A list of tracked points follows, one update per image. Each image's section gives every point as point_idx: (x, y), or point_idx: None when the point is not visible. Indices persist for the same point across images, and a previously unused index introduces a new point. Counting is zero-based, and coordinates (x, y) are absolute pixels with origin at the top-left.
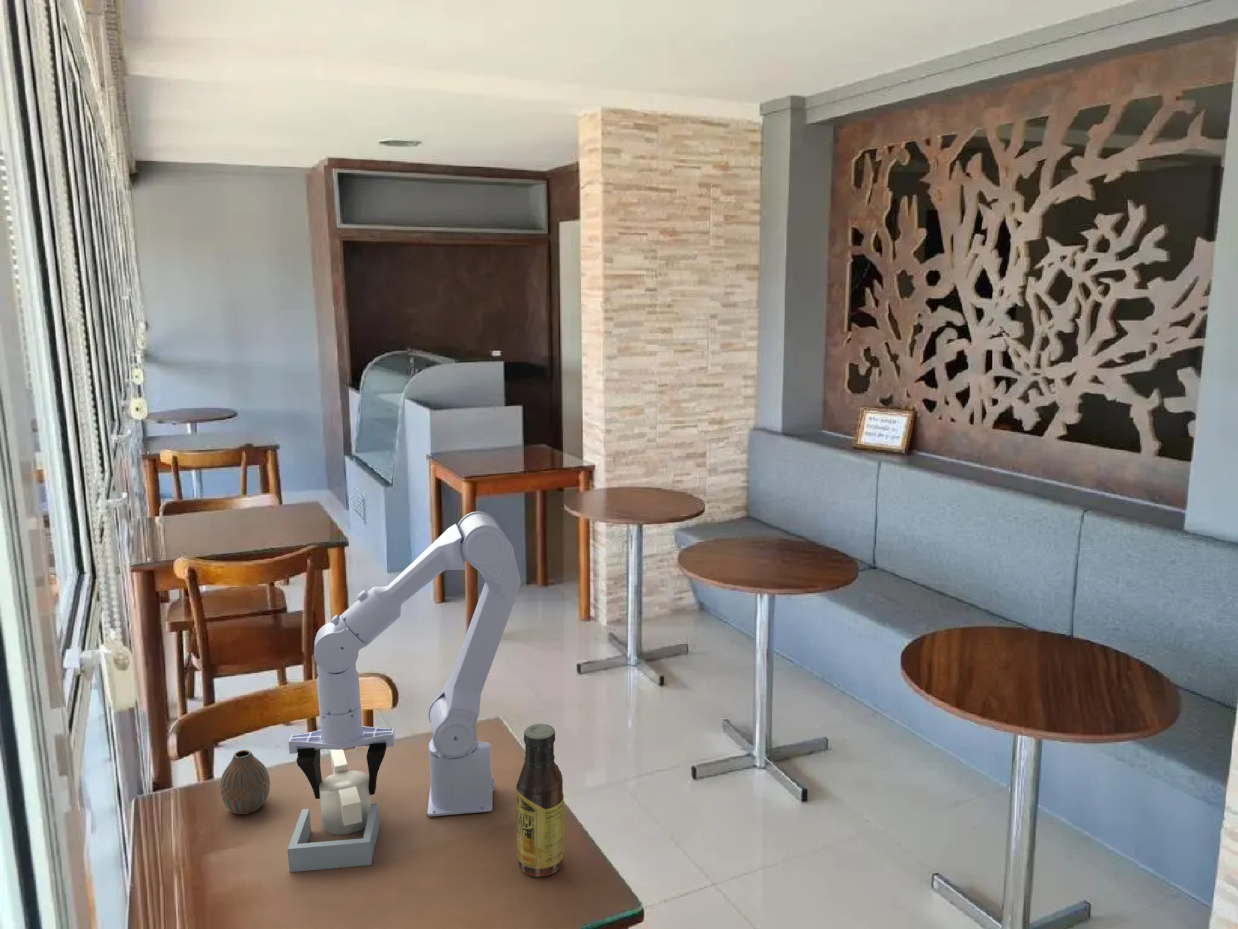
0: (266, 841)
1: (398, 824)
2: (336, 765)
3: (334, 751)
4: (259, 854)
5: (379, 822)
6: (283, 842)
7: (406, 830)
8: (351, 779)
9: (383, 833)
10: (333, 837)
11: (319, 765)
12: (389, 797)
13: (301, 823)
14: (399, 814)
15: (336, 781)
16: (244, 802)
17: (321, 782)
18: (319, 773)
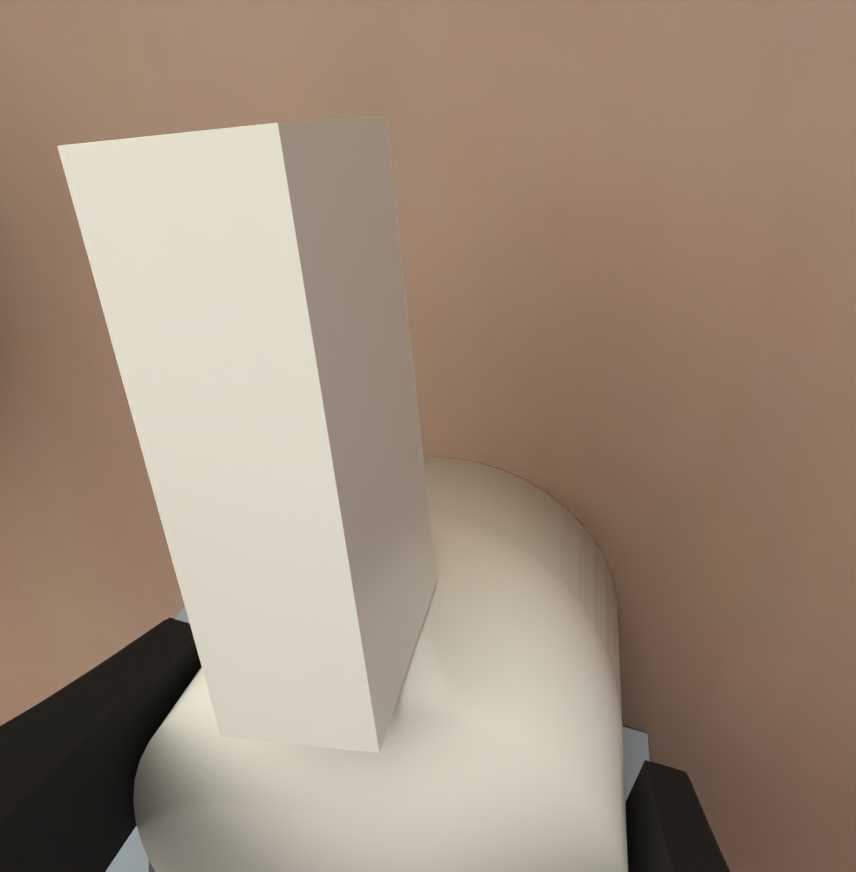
0: (12, 599)
1: (769, 776)
2: (239, 723)
3: (157, 299)
4: (14, 685)
5: (648, 750)
6: (102, 645)
7: (798, 845)
8: (437, 857)
9: None
10: None
11: (3, 864)
12: (819, 439)
13: (131, 842)
14: (815, 685)
15: (286, 819)
16: None
17: (142, 776)
18: (67, 814)
